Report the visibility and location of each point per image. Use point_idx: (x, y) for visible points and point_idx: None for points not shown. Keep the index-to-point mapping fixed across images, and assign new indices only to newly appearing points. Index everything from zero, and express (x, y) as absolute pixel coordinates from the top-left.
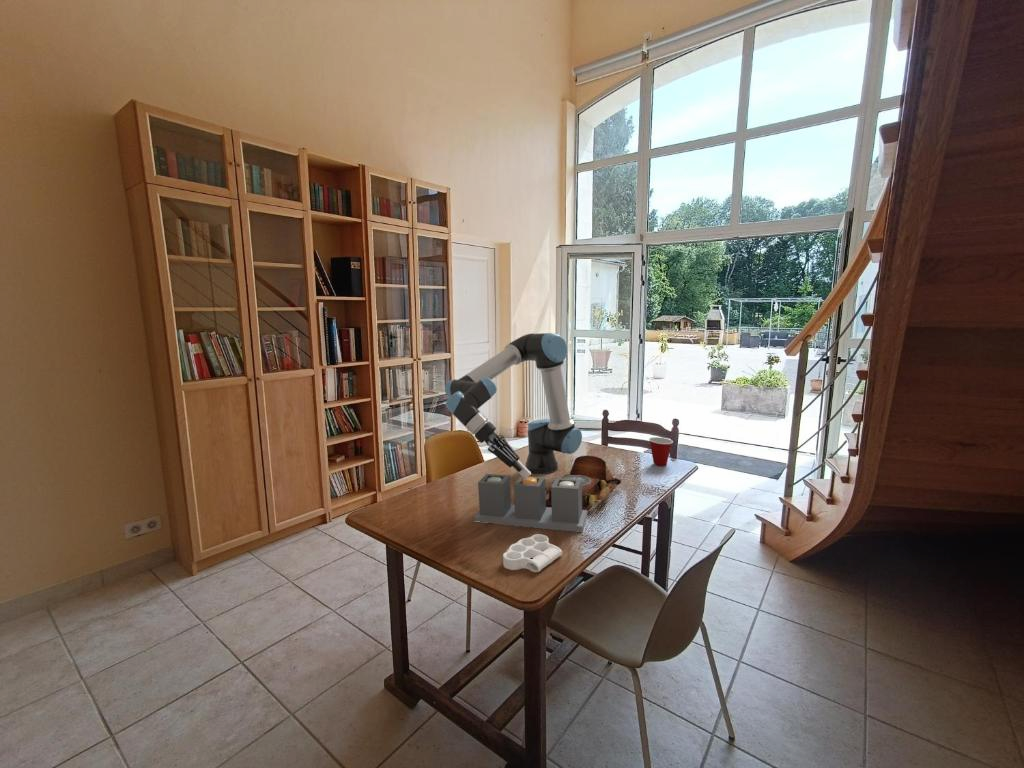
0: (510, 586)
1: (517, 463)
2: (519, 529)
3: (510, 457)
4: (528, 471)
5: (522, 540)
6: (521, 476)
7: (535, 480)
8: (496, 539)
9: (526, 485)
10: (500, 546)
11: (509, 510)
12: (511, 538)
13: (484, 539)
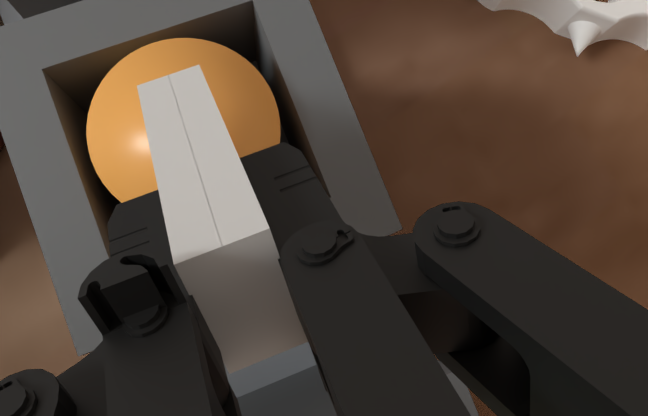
0: None
1: (271, 230)
2: (396, 183)
3: (419, 338)
4: (180, 95)
5: (604, 2)
6: (91, 330)
7: (171, 47)
8: (581, 224)
9: (338, 80)
10: (629, 150)
11: (261, 379)
12: (519, 154)
13: (625, 287)
